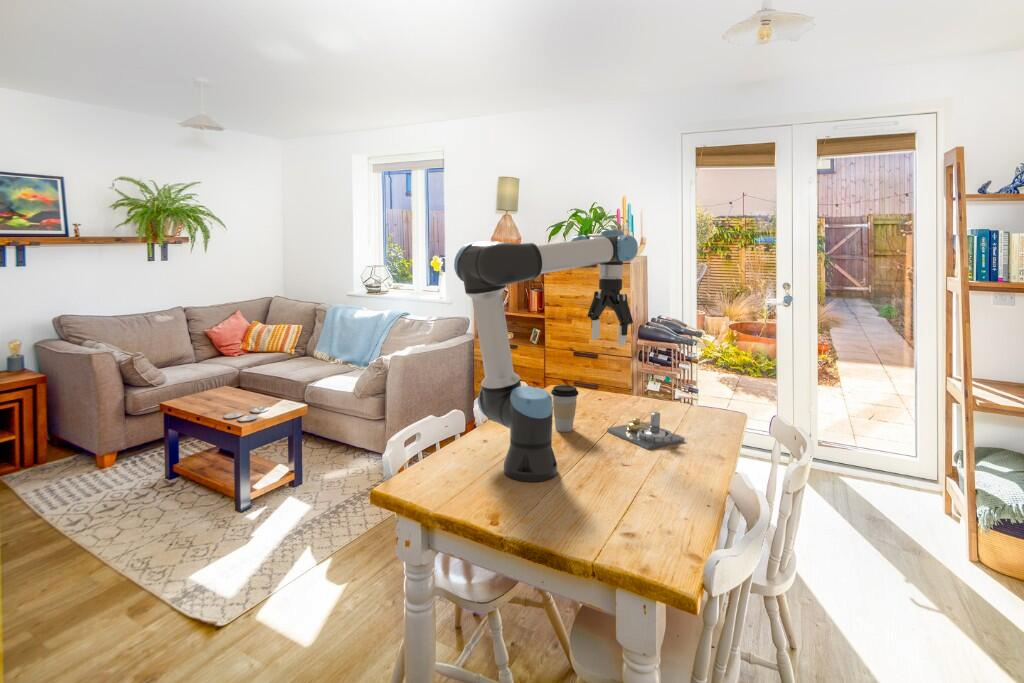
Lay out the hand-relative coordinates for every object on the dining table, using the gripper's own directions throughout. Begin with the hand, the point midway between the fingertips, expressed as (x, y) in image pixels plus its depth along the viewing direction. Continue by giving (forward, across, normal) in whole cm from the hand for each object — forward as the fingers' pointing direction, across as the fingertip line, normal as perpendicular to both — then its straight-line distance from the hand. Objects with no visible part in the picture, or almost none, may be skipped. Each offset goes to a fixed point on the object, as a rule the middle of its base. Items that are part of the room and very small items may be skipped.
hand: (608, 342), depth 189 cm
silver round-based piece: (+30, -14, -10) cm, 35 cm away
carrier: (+32, -9, -10) cm, 34 cm away
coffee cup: (+32, +10, +10) cm, 35 cm away
